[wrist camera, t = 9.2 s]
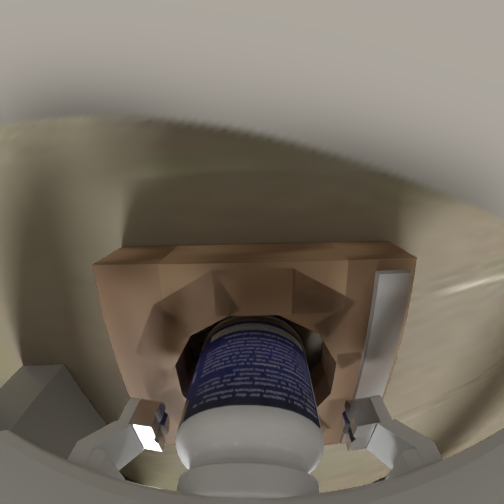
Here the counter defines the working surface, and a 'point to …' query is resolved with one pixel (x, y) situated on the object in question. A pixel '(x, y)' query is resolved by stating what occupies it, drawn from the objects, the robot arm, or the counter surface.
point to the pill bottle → (250, 414)
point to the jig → (257, 312)
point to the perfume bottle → (47, 408)
